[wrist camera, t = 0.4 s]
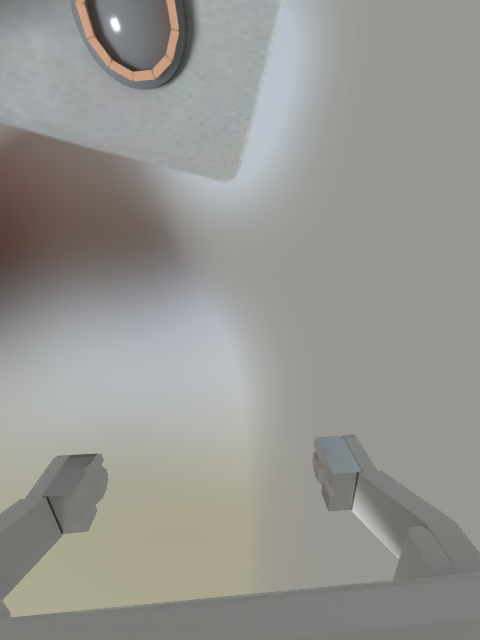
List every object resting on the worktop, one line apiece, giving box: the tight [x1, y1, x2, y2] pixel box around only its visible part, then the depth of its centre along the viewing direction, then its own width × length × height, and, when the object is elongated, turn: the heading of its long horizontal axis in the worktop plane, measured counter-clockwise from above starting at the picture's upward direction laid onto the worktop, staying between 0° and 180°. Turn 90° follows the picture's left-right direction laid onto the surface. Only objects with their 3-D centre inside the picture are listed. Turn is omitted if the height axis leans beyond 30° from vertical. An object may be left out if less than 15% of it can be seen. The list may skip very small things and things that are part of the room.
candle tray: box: [71, 0, 186, 89], centre depth 34 cm, size 14×14×2 cm
